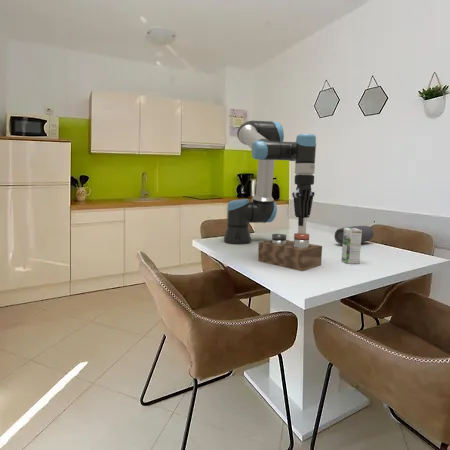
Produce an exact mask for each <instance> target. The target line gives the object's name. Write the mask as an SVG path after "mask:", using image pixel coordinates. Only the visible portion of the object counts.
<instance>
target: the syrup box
mask: <svg viewBox="0 0 450 450" xmlns="http://www.w3.org/2000/svg"><path fill="white" fill-rule="evenodd" d="M343 228H344V235H343V244H342V249H341V251H342V252H341V262H343V263H345V264H348V265H349V264H354V265H355V264H360V260H361V259H360V258H361V249H362V248H361V247H362V242H361V237H362V230H359V229H356V228H345V227H343Z"/></svg>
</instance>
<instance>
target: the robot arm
mask: <svg viewBox="0 0 450 450" xmlns="http://www.w3.org/2000/svg"><path fill="white" fill-rule="evenodd" d="M236 137H237V138H238V141H239V142H240V143H241V144H243V145H245V146H247V147H249V148H250V149H251V157H252V159H253V160H257V161H258V162H257V173H256V174H257V175H256V188H255V195H254V196H253V197H252V201H250V199H249V198H241V199H240V198H239V199H234V200H230V201H228V203H227V210H226V211H227V216H226V218H227V219H226V221H227V224H226V225H227V227H226V231H225V233H224V236H223V242H224V243H226V244H231V245H232V244H233V245H245V244H251V243H252V236H251V233H250V230H249V229H250V228H249V223H250V224H251V223H254V224H255V223H256V224H257V223H260V224H261V223H262V224H265V223H271V222H273V221H274V220H275V218H276V216H277V211H278V208H277V207H278V205H277V202H276V201H275V200H274V198H273V195H272V194H273V193H272V192H273V183H274V182H273V181H274V171H275V162H276V161H289V162H295V164H294V174H295V175H294V185H296V189H295V191H293V192H292V194H291V196H292V197H293V204H294V205H293V208H294V216H295V217H296V218H298V220H297V221H298V223H297V224H298V227H297V228H298V229H297V233H298V234H307V219H308V218H310V216H311V211H312V207H313V206H312V205H313V201H314V196H315V192H314V191H312V185H314V184H315V176H314V174H315V169H316V166H315V164H316V151H317V136H316V135H315V134H312V133H300V134H297V136H296V140H295V141H284V137H285V132H284V128H283V125H282V124H281V123H280V122H278V121H273V120H272V121H271V120H269V121H268V120H267V121H266V120H248V121H246V122H244V123H242V124H241V125H240V126H239V127H238V129H237V131H236Z"/></svg>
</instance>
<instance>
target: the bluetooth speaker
mask: <svg viewBox="0 0 450 450" xmlns="http://www.w3.org/2000/svg"><path fill="white" fill-rule="evenodd" d="M344 228H356V229H359V230H362V237H361V243H363V242H368V241H370V240H372V239H373V237H374V230H373V228H371V226H369V225H356V226H355V225H353V226H346V227H342V228H337V229H336V231H335V232H334V236H333V237H334V240H335V242H336V243H337V244H340V245H343V235H344Z"/></svg>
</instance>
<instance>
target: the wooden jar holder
mask: <svg viewBox="0 0 450 450" xmlns="http://www.w3.org/2000/svg"><path fill="white" fill-rule="evenodd" d="M257 251H258V252H257V260H258V261H259V262H262V263H265V264H270V265H275V266H280V267H284V268H288V269H293V270H297V271H300V272H304V271H307V270H310V269H313V268H316V267H320V266H321V265H322V254H323V246H322V245H319V244H318V245H317V244H313V243H309V247H308V248H298V247H294V240H289V239H286V243H285V244H276V243H272V239H269V240H266V241H265V240H264V241H260V242H258V250H257Z"/></svg>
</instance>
